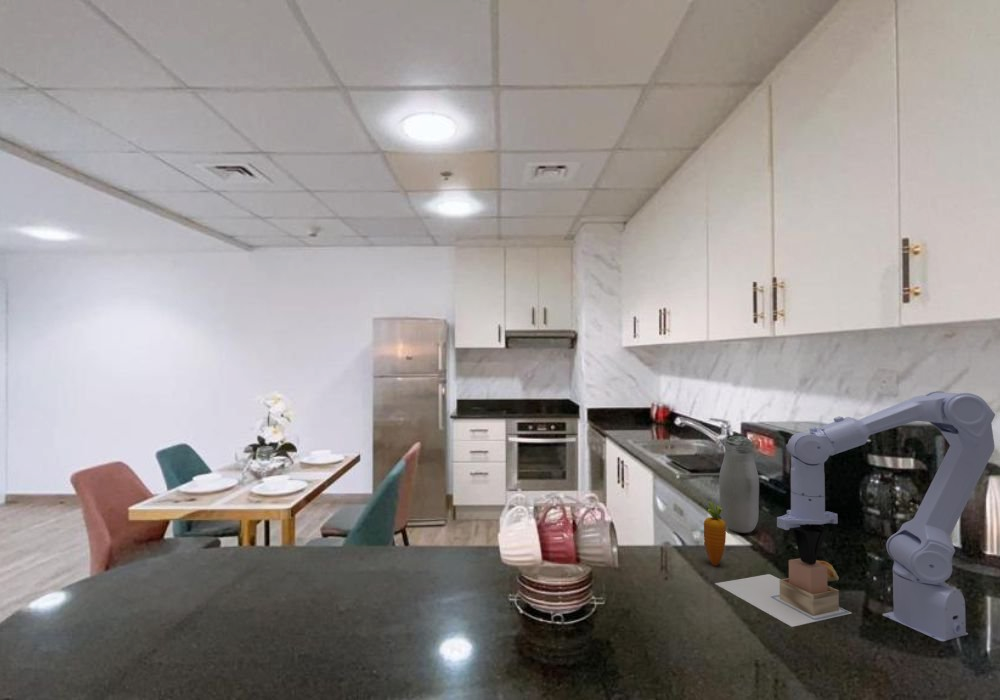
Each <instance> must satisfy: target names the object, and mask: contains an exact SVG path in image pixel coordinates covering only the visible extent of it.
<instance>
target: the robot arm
mask: <svg viewBox="0 0 1000 700" xmlns="http://www.w3.org/2000/svg"><path fill="white" fill-rule="evenodd" d="M995 418H996V413H995V412H994V411H993V410H992V408H991V407H990V406H989V404H988V403H987V402H986V400H984V399H983V398H982V397H980V396H979V395H977V394H974V393H971V392H970V393H969V392H959V393H958V392H957V393H956V392H945V391H931V392H928V393H926V394H922V395H921V394H920V395H917V396H914V397H911V398H909V399H906V400H904V401H901V402H899V403H897V404H895V405H891V406H890V407H886V408H885V409H882V410H880V411H877V412H874V413H872V414H870V415H867V416H865V417H862V418H860V419H856V418H854V417H850V416H846V417H843V416H837V417H834V418H833V422H829V423H827V424H825V425H821V426H819V427H816V426H812V427H809V432H804V431H803V432H802V431H800V432H797V433H794V434H793V435H791V436H790V438H789V439H788V442H787V444H786V445H785V447H786V450H787V452H788V454H789V455H790V456H791V457H790V467H791V468H790V509H787V510H786V514H784V515H782V516H776V527H777V528H779V529H782V530H785V531H789V532H790V533H791V536H792V537H793V539H794V542H795V544H796V547H797V551H798V553H799V558H801V561H803V562H805V563H808V564H815V563H816V560H818V556H819V553H820V549H821V547H822V545H823V543H824V541H825V539H826V537H827V536H828V535H830V532H829V531H830V529H829V528H827V527H824V526H822V525H824V524H833V525H835V524H836V525H837V524H838V522H839V521H838V519H839V518H838V513H835V512H833V511H832V512H831V511H826V491H825V489H826V487H825V484H826V481H825V479H826V477H825V476H826V475H825V462H827V460H828V459H829V457H830V456H834V455H837V454H839V453H843V452H846V451H848V450H851V449H854V448H857V447H860V446H863V445H866V443H867V441H868V439H869V437H870V436H871V435H875V434H877V433H880V432H884V431H887V430H890V429H893V428H897V427H900V426H903V425H907V424H910V423H914V422H927V423H929V424H931V425H932V426H933V427H935V428H936V429H937V430H938V431H939V432H940V433H941V434H942V436H943V437H944V438H945V440H946V442H947V443H948V444H949V447H948V449H947V452H946V453H945V455H944V457H943V459H942V461H941V463H940V465H939V467H938V469H937V472H936V473H935V475H934V477H933V479H932V481H931V483H930V485H929V487H928V489H927V491H926V493H925V495H924V497H923V499H922V501H921V503H920V505H919V507H918V509H917V511H916V513H915V515H914V517H913V518H912V519H911V520H907V521H906V522H904V523H902V524H901V527H899V530H898V531H897V532H896V533H894V534H892V535H890V536H889V538H887V541H886V544H885V546H886V551H887V554H888V555H889V557H890V558H891V559H892V560H893V566H892V596H893V597H892V598H893V599H892V603H893V606H892V607H893V611H890V612H886V613H885V612H884V613H882V614H881V615H882V616H883V617H885V618H888V619H890V620H892V621H894V622H897V623H899V624H902V625H904V626H906V627H907V628H908V627H909V628H910V629H913V630H915V631H917V632H918V633H922V634H924V635H926V636H928V637H931V638H933V639H935V640H937V641H940V642H946V641H947V642H948V641H949V640H954V639H956V638H959V637H963V636H967V635H969V633H968V632H967V628H966V622H967V621H966V600H965V597H964V595H963V593H962V591H960V590H958V589H957V588H954V587H952V586H950V585H949V584H948V583H946V582H945V581H947V580H948V579H949V578H950V577H951V575H952V573H953V562H952V561H953V556H954V555H955V552H956V549H955V547H954V544H953V540H952V537H951V535H952V533H953V532H954V529H955V528H956V525H957V523H958V521H959V519H960V518H961V516H962V514H963V511H964V510H965V508H966V505H968V502H969V500H970V498H971V497H972V494H973V492H974V490H975V488H976V486H977V484H978V483H979V482H980V479H981V476H982V474H983V473H984V471H985V468H986V467H987V465H988V463H989V461H990V459H991V457H992V455H993V454H994V450H995V441H994V433H993V431H994V430H993V426H992V425H993V424H992V423H993V421H994V419H995Z"/></svg>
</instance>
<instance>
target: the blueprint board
mask: <svg viewBox="0 0 1000 700" xmlns="http://www.w3.org/2000/svg"><path fill="white" fill-rule="evenodd" d="M780 580H781V578H778V577H776V576H774V575H772V574H770V573H767V574H762V575H761V574H760V575H756V576H751V577H746V578H745V577H744V578H740V579H739V578H738V579H733V580H727V581H721V582H715V583H714V584H715V585H716V586H718V587H720V588H721V589H723V590H725V591H727V592H729V593H731V594H733V595H734V596H736V597H738V598H739V599H742V600H743V601H744V602H747V603H748V604H750V605H752V606H754V607H755V608H757V609H759V610H761V611H763V612H764V613H767V614H768V615H770V616H771V617H773V618H775V619H777V620H779V621H781V622H782V623H784V624H786V625H788V626H790V627H791V628H793V627H797V626H798V627H799V626H802V625H807V624H812V623H815V622H816V623H817V622H820V621H824V620H828V619H834V618H837V617H842V616H846V615H850V614H852V612H851V611H850V610H849V611H848V610H846V609H844V608H843V607H840V606H839V610H838V611H834V612H829V613H825V614H820V615H816V616H812V615H810V614H808V613H806V612H804V611H802V610H800V609H799V608H797V607H795V606H793V605H791V604H789V603H787V602H785V601H783V600H781V599H780Z"/></svg>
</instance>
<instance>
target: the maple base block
mask: <svg viewBox="0 0 1000 700" xmlns="http://www.w3.org/2000/svg"><path fill="white" fill-rule="evenodd" d="M780 579H781V578H780ZM827 590H828V592H823V593H818V594H813V595H812V594H810V593H808V592H806V591H804V590H802V589H800V588H798V587H795V586H793V585H791V584H789V577H787V578H782V579H781V580H780V599H781V600H783V601H785V602H787V603H789V604H791V605H793V606H795V607H797V608H799V609H800V610H802V611H804V612H806V613H808V614H810V615H812V616H816V615H820V614H825V613H829V612H834V611H838V610H839V607H840V599H839V598H840V596H839V595H840V593H839V591H840V590H838V589H836V588H834V587H832V586H830V585H827Z"/></svg>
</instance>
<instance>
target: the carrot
mask: <svg viewBox="0 0 1000 700" xmlns="http://www.w3.org/2000/svg"><path fill="white" fill-rule="evenodd" d="M708 505H709V507H710V508H708V509H707V512H708V513H709V515H710V516H709V517H707V518H706V519H704V522H703V533H704V534H703V537H704V538H703V539H704V545H705V551H706V555H707V556H708V559H709V561H710V563H711V565H713V566H714V567H715V566H717V567H718V566H719V564H720V562H721V560H722V557H723V555H724V551H725V545H726V538H727V537H726V534H727V527H726V523H725V522H724V521H723V520H722V519H721V518H720V516H721V515H720V512H721V511H722V508H720V505H716V506H714V504H713V502H712V501H709V502H708ZM715 507H716V508H715Z"/></svg>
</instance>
